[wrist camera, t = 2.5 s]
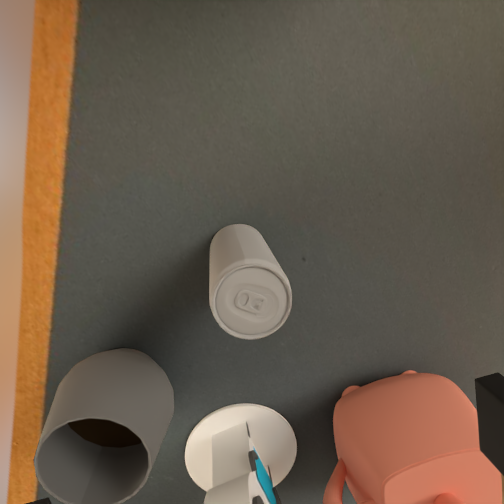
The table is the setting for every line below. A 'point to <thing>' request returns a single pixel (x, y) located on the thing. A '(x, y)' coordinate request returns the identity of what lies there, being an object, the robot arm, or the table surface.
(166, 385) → the cup
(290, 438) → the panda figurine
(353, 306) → the table surface
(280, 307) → the beverage can
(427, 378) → the teapot
